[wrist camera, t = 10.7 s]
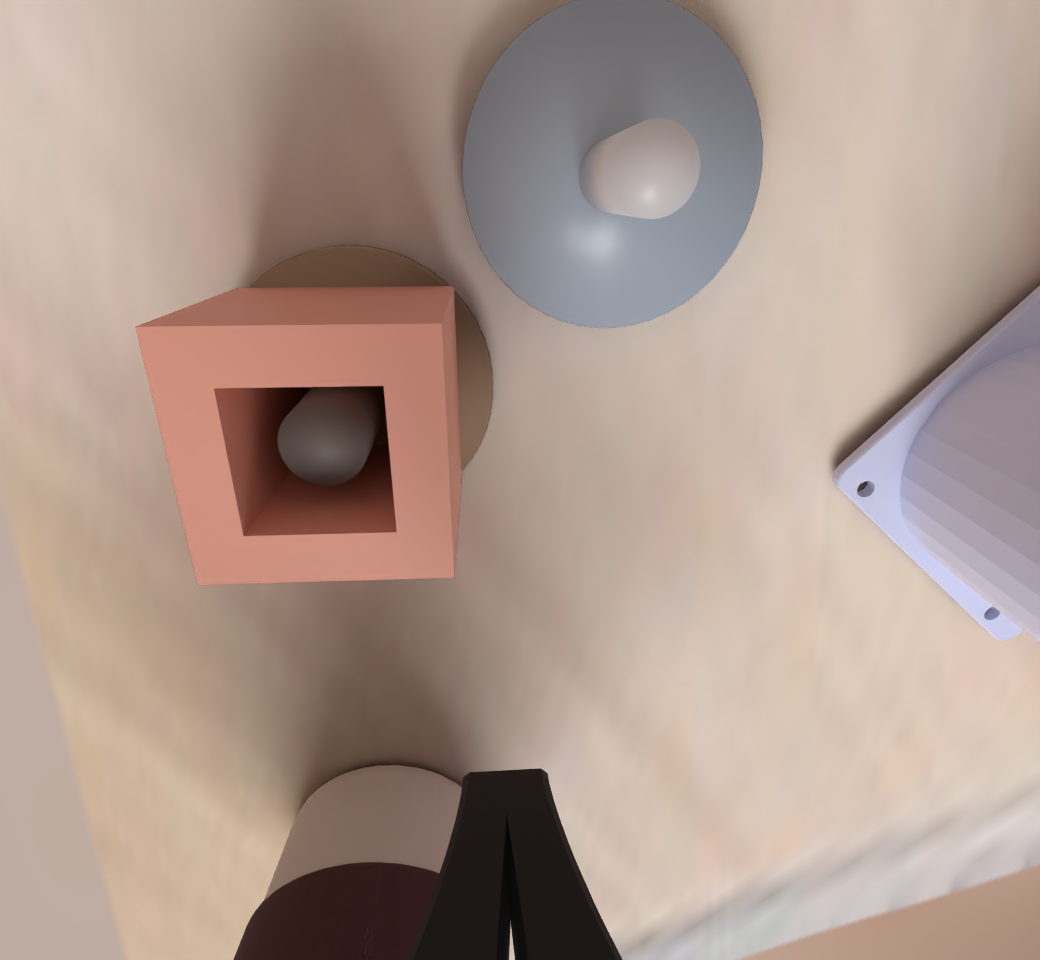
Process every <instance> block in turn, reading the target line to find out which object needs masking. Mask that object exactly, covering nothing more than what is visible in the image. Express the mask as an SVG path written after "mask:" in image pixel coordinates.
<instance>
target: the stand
mask: <svg viewBox="0 0 1040 960" xmlns="http://www.w3.org/2000/svg"><path fill="white" fill-rule="evenodd" d="M762 148H763V142H762V132H761V122H760V117H759V113H758V108H757V104H756V100H755V97H754V94H753V91H752V89H751V86H750V83H749V80H748V78H747V76H746V74H745V72H744V70H743V68H742V67H741V65H740V63H739V61H738V59H737V58H736V56H735V55H734V54H733V52H732V51H731V49H730V48H729V47H728V45H727V44H726V42H725V41H724V40H723V39H722V38H721V37H720V36H719V35H718V34H717V33H716V32H715V31H714V30H713V29H712V28H711V27H710V26H709V25H708V24H706V23H705V22H704V21H702V20H701V19H700V18H698V17H697V16H696V15H695V14H693V13H691V12H690V11H688V10H686V9H684V8H682V7H680V6H678V5H677V4H675V3H672V2H669V1H666V0H575V1H572V2H569V3H567V4H565V5H563V6H561V7H559V8H557V9H555V10H553V11H551V12H549V13H547V14H546V15H544V16H543V17H541V18H540V19H539V20H537V21H536V22H534V23H533V24H531V25H530V26H529V27H528V28H527V29H526V30H524V31H523V32H522V33H521V34H520V35H519V36H518V37H517V38H516V39H515V40H513V42H512V43H511V44H510V45H509V46H508V48H507V49H506V50H505V51H504V52H503V54H502V55H501V56H500V57H499V58H498V60H497V62H496V63H495V65H494V66H493V68H492V69H491V71H490V73H489V74H488V76H487V77H486V79H485V81H484V83H483V85H482V88H481V90H480V92H479V94H478V96H477V98H476V101H475V104H474V107H473V110H472V113H471V116H470V119H469V123H468V127H467V132H466V137H465V142H464V153H463V165H462V166H463V189H464V195H465V202H466V208H467V212H468V215H469V219H470V223H471V226H472V229H473V232H474V234H475V236H476V239H477V241H478V244H479V246H480V248H481V250H482V252H483V253H484V255H485V257H486V259H487V260H488V262H489V264H490V265H491V267H492V268H493V269H494V271H495V272H496V273H497V275H498V276H499V277H500V279H501V280H502V281H503V282H504V283H505V284H506V285H507V286H508V287H509V288H510V289H511V290H512V291H513V292H514V293H515V294H516V295H517V296H519V297H520V298H521V299H522V300H524V301H525V302H526V303H528V304H529V305H530V306H532V307H534V308H535V309H537V310H539V311H541V312H542V313H544V314H546V315H548V316H551V317H553V318H556V319H558V320H560V321H563V322H567V323H571V324H575V325H579V326H586V327H594V328H615V327H622V326H629V325H634V324H638V323H641V322H645V321H648V320H651V319H654V318H656V317H658V316H661V315H663V314H665V313H668V312H669V311H671V310H673V309H675V308H676V307H678V306H680V305H681V304H683V303H685V302H686V301H687V300H689V299H690V298H691V297H693V296H694V295H695V294H697V293H698V292H699V291H700V290H701V289H702V288H703V287H704V286H705V285H706V284H708V283H709V282H710V281H711V280H712V279H713V278H714V276H715V275H716V274H717V273H718V272H719V270H720V269H721V268H722V267H723V266H724V264H725V263H726V262H727V260H728V259H729V257H730V256H731V254H732V253H733V251H734V250H735V248H736V247H737V245H738V243H739V241H740V239H741V237H742V235H743V233H744V231H745V229H746V227H747V225H748V222H749V219H750V217H751V214H752V211H753V209H754V205H755V201H756V197H757V194H758V190H759V185H760V177H761V170H762Z"/></svg>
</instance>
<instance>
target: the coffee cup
mask: <svg viewBox="0 0 1040 960" xmlns="http://www.w3.org/2000/svg"><path fill="white" fill-rule="evenodd" d="M461 791H462V787H461V786H459V785H458V784H457V783H455V782H453V781H452V780H450V779H448V778H446V777H445V776H442V775H440V774H437V773H434V772H431V771H428V770H425V769H421V768H416V767H409V766H403V765H378V766H371V767H365V768H360V769H357V770H353V771H350V772H347V773H344V774H342V775H340V776H338V777H335V778H333V779H332V780H330V781H329V782H327V783H326V784H324V785H323V786H321V787H320V788H318V789H317V790H316V791H315V792H314V793H313V794H312V795H311V796H310V797H309V798H308V799H307V801H306V802H305V803H304V805H303V806H302V808H301V809H300V811H299V813H298V815H297V816H296V818H295V821H294V823H293V826H292V829H291V831H290V834H289V837H288V839H287V842H286V844H285V847H284V850H283V852H282V855H281V858H280V860H279V863H278V865H277V868H276V871H275V873H274V876H273V878H272V881H271V884H270V886H269V889H268V892H267V894H266V897H265V899H264V901H263V902H262V904H261V905H260V906H259V907H258V909H257V910H256V911H255V913H254V914H253V916H252V917H251V919H250V921H249V923H248V925H247V927H246V930H245V932H244V935H243V937H242V940H241V942H240V945H239V947H238V950H237V952H236V955H235V957H234V960H407V958H408V956H409V953H410V951H411V948H412V946H413V943H414V941H415V938H416V936H417V933H418V931H419V928H420V926H421V923H422V921H423V918H424V916H425V913H426V910H427V908H428V905H429V902H430V900H431V897H432V894H433V891H434V888H435V885H436V882H437V879H438V876H439V873H440V870H441V867H442V864H443V861H444V858H445V855H446V852H447V848H448V845H449V841H450V838H451V834H452V831H453V827H454V823H455V819H456V815H457V811H458V806H459V801H460V797H461Z"/></svg>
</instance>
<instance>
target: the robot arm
mask: <svg viewBox="0 0 1040 960" xmlns="http://www.w3.org/2000/svg"><path fill="white" fill-rule="evenodd" d="M865 481H867V486H866V487H865V488H864V489H863V490H861V491H858V492H857V488H858V487H859V485H860V484H861V483H863V482H865ZM833 482H834V484H835V485H836V487H837V488H838V489H839V490H841V491H842V492H843V493H844V494H845V495H846V496H847V497H848V498H849V499H850V500H851V501H852V502H853V503H854V504H855V505H856V506H857V507H858V508H859V509H860V510H861V511H862V512H863V513H864V514H865V515H867V516H868V517H869V518H870V519H871V520H872V521H873V522H874V523H875V524H876V525H877V526H878V527H879V528H880V529H881V530H882V531H883V532H884V533H885V534H886V535H887V536H888V537H889V538H890V539H891V540H892V541H894V542H895V543H896V544H897V545H898V546H899V547H900V548H901V549H902V550H903V551H904V552H905V553H906V554H907V555H908V556H909V557H910V558H911V559H912V560H913V561H914V562H915V563H916V564H917V565H918V566H919V567H921V568H922V569H923V570H924V571H925V572H926V573H927V574H928V575H929V576H930V577H931V578H932V579H933V580H934V581H935V582H936V583H937V584H938V585H939V586H940V587H941V588H942V589H943V590H944V591H945V592H947V593H948V594H949V595H950V596H951V597H952V598H953V599H954V600H955V601H956V602H957V603H958V604H959V605H960V606H961V607H962V608H963V609H964V610H965V611H966V612H967V613H968V614H969V615H970V616H971V617H972V618H974V619H975V620H976V621H977V622H978V623H979V624H980V625H981V626H982V627H983V628H984V629H985V630H986V631H987V632H988V633H989V634H990V635H992V636H993V637H994V638H995V639H997V640H1008V639H1011V638H1013V637H1015V636H1016V635H1018V634H1019V633H1020V632H1022V631H1025V632H1026V633H1027V634H1028V635H1029V636H1031V637H1032V638H1033V639H1034V640H1036V641H1037V642H1038V643H1039V644H1040V286H1038V287H1037V288H1036V289H1035V290H1034V291H1033V292H1032V293H1031V294H1029V295H1028V296H1027V297H1026V298H1025V299H1024V300H1023V301H1022V302H1021V303H1019V304H1018V305H1017V306H1016V307H1015V308H1014V309H1013V310H1012V311H1010V312H1009V313H1008V314H1007V315H1006V316H1005V317H1004V318H1003V319H1002V320H1000V321H999V322H998V323H997V324H996V325H995V326H994V327H993V328H991V329H990V330H989V331H988V332H987V333H986V334H985V335H984V336H983V337H981V338H980V339H979V340H978V341H977V342H976V343H975V344H974V345H972V346H971V347H970V348H969V349H968V350H967V351H966V352H965V353H964V354H962V355H961V356H960V357H959V358H958V359H957V360H956V361H955V362H953V363H952V364H951V365H950V366H949V367H948V368H947V369H946V370H945V371H943V372H942V373H941V374H940V375H939V376H938V377H937V378H936V379H934V380H933V381H932V382H931V383H930V384H929V385H928V386H927V387H926V388H924V389H923V390H922V391H921V392H920V393H919V394H918V395H917V396H915V397H914V398H913V399H912V400H911V401H910V402H909V403H908V404H907V405H905V406H904V407H903V408H902V409H901V410H900V411H899V412H898V413H896V414H895V415H894V416H893V417H892V418H891V419H890V420H889V421H888V422H886V423H885V424H884V425H883V426H882V427H881V428H880V429H879V430H877V431H876V432H875V433H874V434H873V435H872V436H871V437H870V438H869V439H867V440H866V441H865V442H864V443H863V444H862V445H861V446H860V447H858V448H857V449H856V450H855V451H854V452H853V453H852V454H851V455H850V456H848V457H847V458H846V459H845V460H844V461H843V462H842V463H841V464H839V466H838V467H837V468H836V469H835V471H834V474H833ZM989 608H990V609H989ZM988 609H989V610H988ZM987 610H988V611H987ZM510 921H511V928H512V937H513V945H514V954H515V960H622V958H621V956H620V954H619V952H618V950H617V948H616V946H615V944H614V942H613V940H612V938H611V936H610V934H609V932H608V930H607V928H606V926H605V924H604V922H603V920H602V918H601V916H600V914H599V912H598V910H597V908H596V906H595V903H594V901H593V899H592V897H591V894H590V892H589V890H588V888H587V885H586V883H585V881H584V879H583V876H582V874H581V872H580V870H579V867H578V865H577V863H576V860H575V858H574V855H573V853H572V850H571V848H570V845H569V843H568V840H567V837H566V835H565V832H564V829H563V827H562V824H561V821H560V818H559V815H558V812H557V809H556V806H555V803H554V799H553V796H552V792H551V788H550V784H549V780H548V774H547V773H546V772H545V771H543V770H542V769H524V770H505V771H487V772H470V773H468V774H467V775H466V776H465V777H464V778H463V783H462V791H461V797H460V801H459V806H458V811H457V815H456V819H455V823H454V827H453V831H452V834H451V838H450V841H449V845H448V848H447V852H446V855H445V858H444V861H443V864H442V867H441V870H440V873H439V876H438V879H437V882H436V885H435V888H434V891H433V894H432V897H431V900H430V902H429V905H428V908H427V910H426V913H425V916H424V918H423V921H422V923H421V926H420V928H419V931H418V933H417V936H416V938H415V941H414V943H413V946H412V948H411V951H410V953H409V956H408V958H407V960H509V946H510Z"/></svg>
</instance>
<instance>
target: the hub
mask: <svg viewBox="0 0 1040 960" xmlns="http://www.w3.org/2000/svg"><path fill="white" fill-rule="evenodd" d="M417 286H449V285H448V284H447V283H446V282H445V281H444V280H442V279H441V278H440V277H439V276H437V275H436V274H435V273H433V272H432V271H431V270H429V269H428V268H426V267H424V266H422V265H421V264H419V263H417V262H415V261H414V260H412V259H409V258H407V257H404V256H402V255H399V254H397V253H394V252H390V251H387V250H383V249H379V248H374V247H366V246H334V247H327V248H321V249H318V250H314V251H311V252H308V253H304V254H301V255H298V256H295V257H293V258H291V259H289V260H287V261H285V262H282V263H280V264H278V265H277V266H275V267H274V268H272V269H271V270H269V271H268V272H266V273H265V274H263V275H262V276H261V277H260V278H259V279H258V280H257V281H256V282H255V283H254V284H252V285H251V286H250V287H249V288H289V287H417ZM454 301H455V325H456V349H457V373H458V398H459V422H460V446H461V470H462V471H463V470H464V468H465V467H466V466H467V464H468V463H469V462H470V461H471V459H472V458H473V456H474V455H475V453H476V451H477V450H478V448H479V446H480V444H481V442H482V440H483V437H484V435H485V432H486V430H487V427H488V423H489V419H490V415H491V409H492V400H493V379H492V368H491V361H490V355H489V352H488V348H487V345H486V342H485V338H484V336H483V334H482V332H481V329H480V327H479V325H478V323H477V321H476V319H475V318H474V316H473V314H472V313H471V311H470V309H469V308H468V307H467V305H466V304H465V303H464V301H463V300H462V299H461V298H460V296H459V295H458V294H457V293H456V292H455V291H454ZM299 393H300V402H299V403H298V404H297V405H296V406H295V407H294V408H293V409H292V411H291V412H290V413H289V414H288V415H287V416H286V417H285V419H284V420H283V422H282V423H281V426H280V428H279V432H278V448H279V452H280V455H281V457H282V459H283V461H284V462H285V464H286V465H287V467H288V468H289V469H290V470H291V471H292V472H293V473H294V474H296V475H297V476H298V477H300V478H301V479H303V480H305V481H307V482H310V483H313V484H317V485H324V486H331V485H338V484H341V483H344V482H346V481H348V480H350V479H352V478H353V477H354V476H356V475H357V474H358V473H359V472H360V470H361V469H362V468H363V466H364V464H365V462H366V460H367V457H368V455H369V453H370V451H371V448H372V446H373V444H389V441H388V430H387V419H386V408H385V397H384V386H343V387H299Z"/></svg>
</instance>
